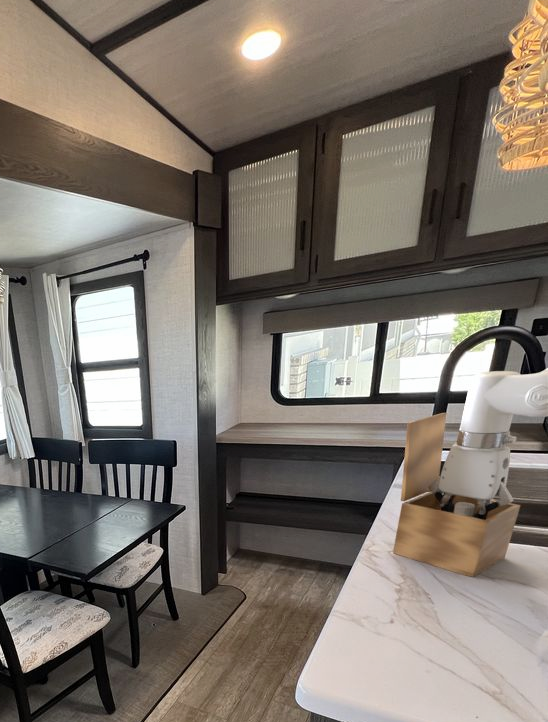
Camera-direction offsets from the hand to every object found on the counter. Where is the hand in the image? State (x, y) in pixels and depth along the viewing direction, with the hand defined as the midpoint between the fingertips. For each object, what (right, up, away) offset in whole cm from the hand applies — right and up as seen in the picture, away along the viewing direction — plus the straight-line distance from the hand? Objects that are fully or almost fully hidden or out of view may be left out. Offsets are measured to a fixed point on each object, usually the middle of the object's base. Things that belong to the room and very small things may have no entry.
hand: (460, 525), depth 98 cm
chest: (0, -6, +4) cm, 7 cm away
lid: (-6, +15, +2) cm, 16 cm away
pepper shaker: (0, -5, +2) cm, 5 cm away
